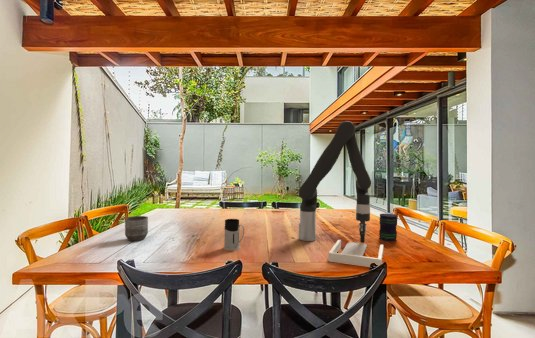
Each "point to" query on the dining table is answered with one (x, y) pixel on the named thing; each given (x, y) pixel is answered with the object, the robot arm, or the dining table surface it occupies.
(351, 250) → the baseboard
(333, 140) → the robot arm
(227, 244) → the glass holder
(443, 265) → the dining table surface
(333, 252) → the frame
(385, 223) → the storage jar
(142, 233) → the planter
